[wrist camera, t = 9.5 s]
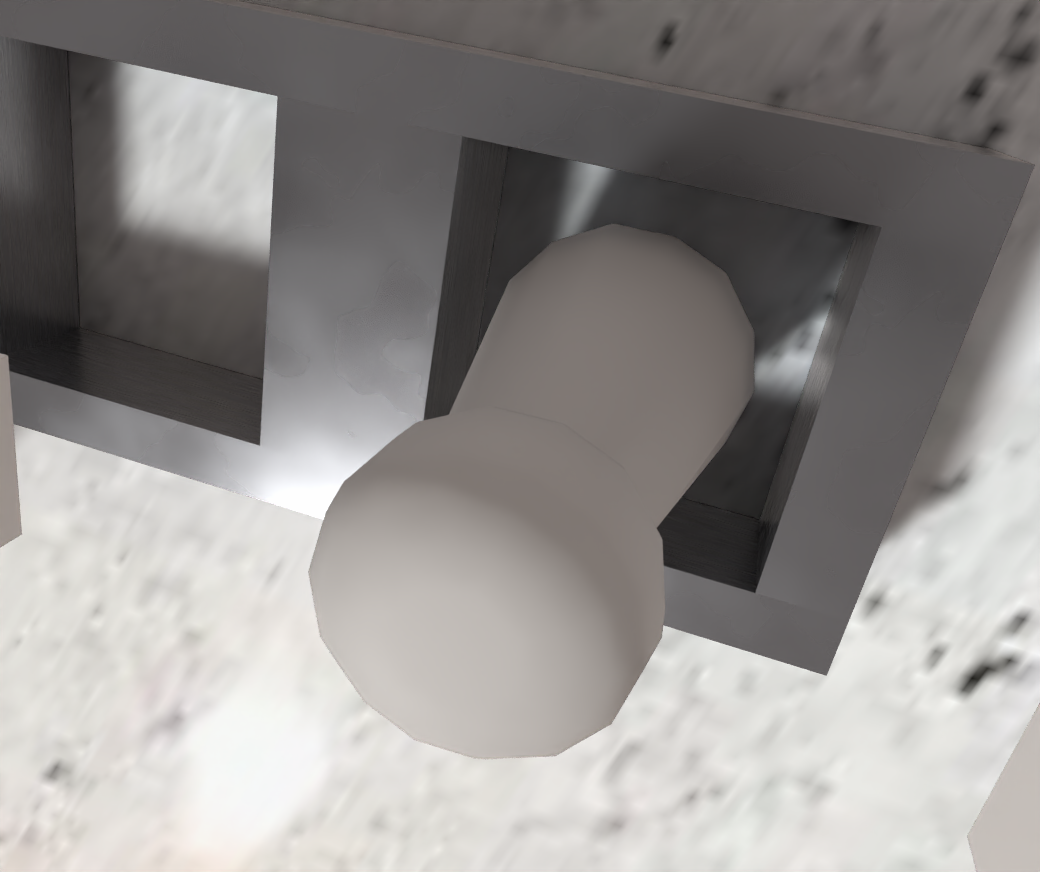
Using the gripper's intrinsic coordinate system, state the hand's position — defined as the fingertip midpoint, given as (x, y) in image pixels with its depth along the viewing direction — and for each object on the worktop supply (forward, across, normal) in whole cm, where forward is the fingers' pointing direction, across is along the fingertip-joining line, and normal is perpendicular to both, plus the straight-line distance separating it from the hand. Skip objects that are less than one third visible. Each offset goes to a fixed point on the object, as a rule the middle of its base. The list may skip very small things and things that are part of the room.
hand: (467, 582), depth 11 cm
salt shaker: (+12, 0, 0) cm, 12 cm away
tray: (+12, -5, 0) cm, 13 cm away
